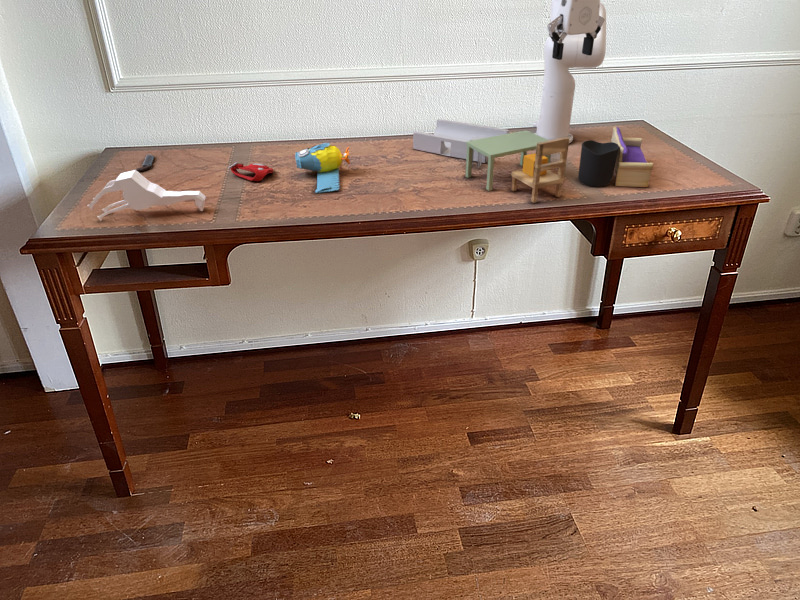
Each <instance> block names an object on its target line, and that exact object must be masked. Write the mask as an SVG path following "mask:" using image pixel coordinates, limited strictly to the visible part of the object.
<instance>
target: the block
mask: <svg viewBox="0 0 800 600" xmlns="http://www.w3.org/2000/svg"><path fill="white" fill-rule="evenodd" d="M535 156H536V152H535V153H529V154H527V155H525V156H524V160H523V166H522V169H523V170H522V169H521V170H522V172H523V173H525V174H527V175H529V176H531V177H533V175H534V165H535ZM543 164H548V158H547V157H545V156H542V163H541V165H543ZM546 173H547V170H545V171H541V172H540V176H541V175H545V174H546Z"/></svg>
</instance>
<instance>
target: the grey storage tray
mask: <svg viewBox="0 0 800 600" xmlns="http://www.w3.org/2000/svg"><path fill="white" fill-rule="evenodd" d="M509 133H510V129H506V128H500V127H494V126H493V127H492V126H486V125H481V124H474V123H467V122H462V121H454V120H448V119H443V118H437V119H436V126H435V130H434V132H433V133H427V132H421V131H416V130H415V131H414V132H413V133H412V149H413V150H417V151H423V152H428V153H431V154H438V155H441V156H447V157H452V158H457V159H461V160H466V157H467V145H466V142H467V141H472V140H477V139H483V138H488V137H493V136H498V135H503V134H509ZM474 162H477V167H476V168H477V169H480V168H481V167H482V163H483V164H486V163H488V157H487V156H485V155H483V154H481V153H479V152H478V151H476V150H474V149H473V155H472V166H473V165H474Z"/></svg>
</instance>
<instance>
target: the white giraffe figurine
mask: <svg viewBox="0 0 800 600" xmlns="http://www.w3.org/2000/svg"><path fill="white" fill-rule="evenodd" d="M118 191H119V192H121V191H122V195H121V198H122V199H123V200H119V201H116V202H114V203H111V204H109V205H106V207H105V208H102V209H101V211H103V213H101V214H100V215H97V216H96V218H97V219H98V220H99V221H100V222H102V220H103V218H104V217H105V216H107V215H109V214H112V213H116V212H121V211H123V210H125V209H128V210H129V209H130V210H134V211H137V212H138V211H139V212H140V211H143V210H146V209H150V208H152V207H155V206H158V207H159V206H160V207H163V206H172V205H176V204H178V203H181V202H185V201H190V200H194V205H195V207H196V208H197V209H198V210H199V211H200V212H203V211H204V208H205V201H206V198H207V196H206V195H205V194H204V193H203V192H202V191H200V190H182V191H181V190H180V191H178V190H175V191H174V190H166V188H164V187H161V185H159V184H157V183H154V182H151V181H150V180H149V179H148V178H146V177H145V176H144V175H143V174H142V173H140V172H138V171H137V170H136V169H133V170H129V171H124V172H121V173H119V175H118V176H117V177H116V179H113V180H112V179H111V180H109V181H108V182H107V184H106V185H105V186H104V187H103V188H102V189H101V190H100V191H99V192H98V193H97V194H96V195H95V196H94V197H92V200H91V202H90V203H89V204H87V207H88V208H89V209H90V210H91V211H92V210H93V208H94V206H95V204H97V203H98V201H99V200H100V199H101V198H102V197H103V196H104V195H105V194H107V193H113V192H118ZM120 205H121V206H120ZM117 206H118V207H117ZM113 207H115V208H113ZM111 208H112V209H111Z"/></svg>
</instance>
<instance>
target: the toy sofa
mask: <svg viewBox="0 0 800 600" xmlns="http://www.w3.org/2000/svg"><path fill="white" fill-rule="evenodd" d="M610 138H611V139H610V142H613V143H616V144H618V145H619V150H618V155H617V159H616V164H615V168H614V171H615V174H616V177H615V182H614V183H615V184H614V186H615V187H630V188H631V187H634V188H648V187H649V184H650V180H651V175H652V170H653V168H654V167H653V166H654V163H653V162H648V161H647V159H646V157H645V154H644V152H643V150H642V149H641V147H642V142H643V138H642V137H623V135H622V132H621V129H620V127H619V126H613V128H612V136H611V137H610Z"/></svg>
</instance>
